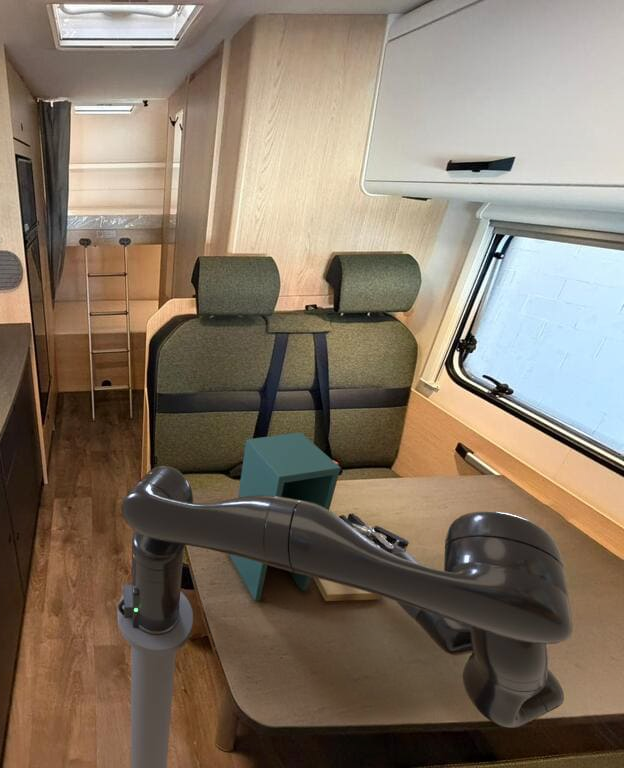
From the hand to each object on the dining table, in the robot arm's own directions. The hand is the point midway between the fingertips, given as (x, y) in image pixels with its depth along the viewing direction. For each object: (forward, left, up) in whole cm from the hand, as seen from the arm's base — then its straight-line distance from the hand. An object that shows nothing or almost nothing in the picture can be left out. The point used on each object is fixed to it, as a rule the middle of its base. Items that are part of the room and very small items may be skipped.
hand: (344, 517), depth 88 cm
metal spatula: (0, +1, -3) cm, 4 cm away
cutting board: (0, +1, -14) cm, 14 cm away
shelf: (-15, -1, -14) cm, 21 cm away
